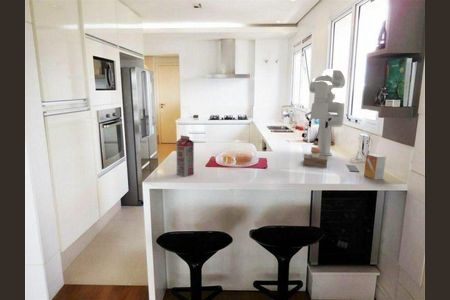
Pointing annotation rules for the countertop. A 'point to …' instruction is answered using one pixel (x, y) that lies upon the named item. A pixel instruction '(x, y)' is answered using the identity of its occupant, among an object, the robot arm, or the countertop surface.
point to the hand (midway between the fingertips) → (317, 127)
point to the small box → (374, 166)
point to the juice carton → (185, 157)
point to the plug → (315, 152)
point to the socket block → (315, 161)
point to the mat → (352, 168)
